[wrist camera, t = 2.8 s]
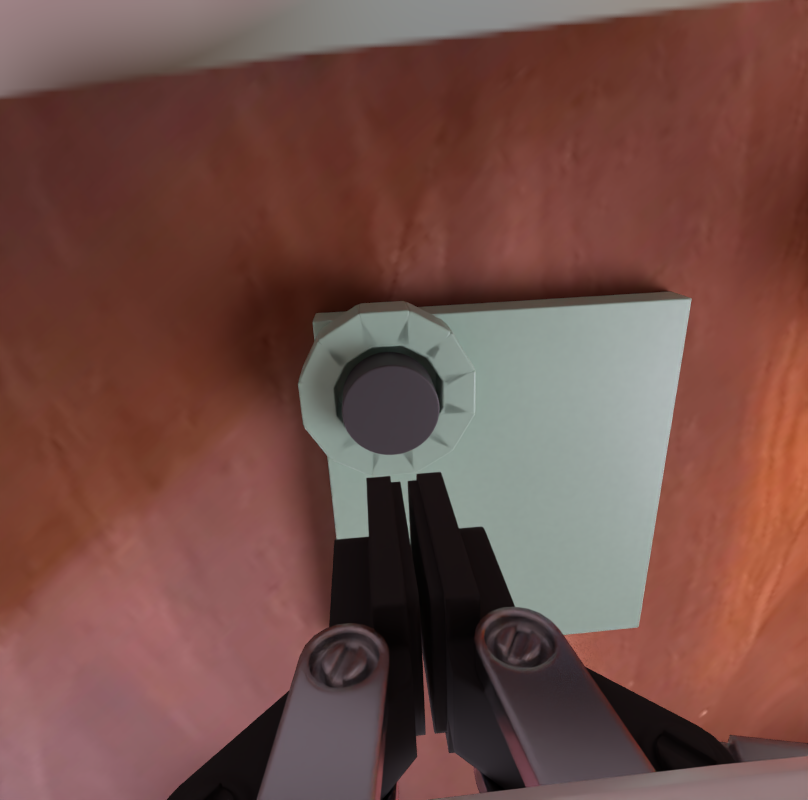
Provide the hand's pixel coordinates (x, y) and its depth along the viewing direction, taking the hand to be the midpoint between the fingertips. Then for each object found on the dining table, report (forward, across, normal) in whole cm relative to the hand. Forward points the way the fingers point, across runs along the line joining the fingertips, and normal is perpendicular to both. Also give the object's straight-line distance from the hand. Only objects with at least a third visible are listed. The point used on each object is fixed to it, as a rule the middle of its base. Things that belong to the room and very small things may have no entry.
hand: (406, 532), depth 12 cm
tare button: (+8, 0, 0) cm, 8 cm away
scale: (+10, -5, +5) cm, 12 cm away
